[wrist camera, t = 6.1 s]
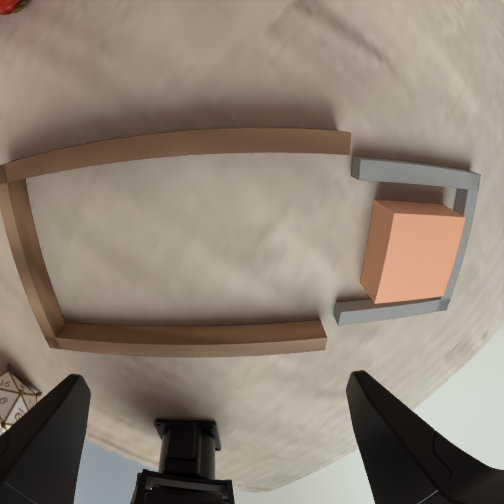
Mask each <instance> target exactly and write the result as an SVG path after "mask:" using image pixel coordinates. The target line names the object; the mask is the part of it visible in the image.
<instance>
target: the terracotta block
mask: <svg viewBox="0 0 504 504" xmlns="http://www.w3.org/2000/svg"><path fill="white" fill-rule="evenodd" d="M465 219H466V217H464V216H462V215H461V214H459V213H457V212H455V211H454V210H452V209H450V208H448V207H446V206H445V205H443V204H431V203H419V202H405V201H390V200H374V203H373V210H372V217H371V224H370V230H369V236H368V242H367V248H366V253H365V259H364V264H363V269H362V274H361V279H360V283H361V285H362V286H363V287H364V289H365V290H366V292H367V293H368V295H369V296H370V298H371V299H372V301H373V302H374V304H377V303H388V302H398V301H407V300H416V299H425V298H433V297H441V296H443V295H444V292H445V289H446V286H447V283H448V280H449V277H450V274H451V271H452V268H453V265H454V261H455V258H456V254H457V251H458V247H459V243H460V239H461V236H462V231H463V227H464V223H465Z"/></svg>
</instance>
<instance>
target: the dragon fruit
mask: <svg viewBox="0 0 504 504" xmlns="http://www.w3.org/2000/svg"><path fill="white" fill-rule="evenodd" d="M24 7H25V0H0V14H1V15H7V14H11V13H16V12H19V11H21V10H22V9H23V8H24Z"/></svg>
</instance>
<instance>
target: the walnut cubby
mask: <svg viewBox="0 0 504 504" xmlns="http://www.w3.org/2000/svg"><path fill="white" fill-rule="evenodd" d="M350 143H351V132H345V131H338V130H325V129H307V128H271V127H252V128H216V129H198V130H184V131H172V132H162V133H153V134H144V135H136V136H129V137H122V138H115V139H109V140H103V141H97V142H91V143H86V144H81V145H76V146H71V147H66V148H62V149H57V150H53V151H49V152H45V153H41V154H37V155H33V156H29V157H25V158H22V159H18V160H15V161H11V162H8V163H5V164H3V165H0V207H1V212H2V216H3V221H4V225H5V229H6V233H7V237H8V240H9V244H10V247H11V251H12V254H13V257H14V261H15V264H16V267H17V270H18V273H19V276H20V279H21V281H22V284H23V287H24V290H25V292H26V295H27V297H28V300H29V302H30V305H31V307H32V310H33V312H34V314H35V317H36V319H37V321H38V324H39V326H40V328H41V330H42V332H43V334H44V336H45V339H46V341H47V343H48V345H49V347H50V348H56V349H64V350H72V351H81V352H91V353H102V354H115V355H130V356H151V357H237V356H259V355H275V354H288V353H300V352H310V351H320V350H325V347H326V342H327V336H326V333H325V331H324V328H323V326H322V323H321V320H314V321H301V322H287V323H271V324H252V325H226V326H127V325H102V324H84V323H69V322H65V320H64V318H63V315H62V313H61V310H60V308H59V305H58V303H57V300H56V297H55V294H54V291H53V289H52V286H51V283H50V280H49V277H48V274H47V270H46V267H45V264H44V261H43V257H42V254H41V250H40V247H39V243H38V239H37V235H36V231H35V227H34V223H33V218H32V214H31V209H30V204H29V199H28V193H27V187H26V181H25V178H29V177H34V176H38V175H43V174H48V173H53V172H58V171H64V170H69V169H75V168H81V167H87V166H94V165H100V164H107V163H115V162H122V161H130V160H139V159H149V158H159V157H170V156H183V155H199V154H218V153H255V152H286V153H322V154H341V155H350Z"/></svg>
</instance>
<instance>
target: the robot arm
mask: <svg viewBox="0 0 504 504" xmlns="http://www.w3.org/2000/svg"><path fill="white" fill-rule="evenodd" d="M346 394H347V399H348V404H349V409H350V415H351V420H352V425H353V430H354V434H355V437H356V441H357V444H358V447H359V450H360V453H361V456H362V460H363V463H364V467H365V470H366V473H367V476H368V480H369V483H370V487H371V490H372V493H373V497H374V501H375V504H504V470H499V469H495V468H492V467H489V466H487V465H485V464H484V463H481V462H480V461H479V460H477V459H475V458H474V457H472V456H471V455H469V454H467V453H466V452H464V451H462V450H461V449H460V448H458V447H456V446H455V445H454V444H452V443H451V442H450V441H448V440H447V439H446V438H444V437H443V436H442V435H441V434H439V433H438V432H437V431H434V429H433V428H432V427H431V426H430V425H429V424H427V423H426V422H425V421H424V420H422V419H421V418H420V417H419V416H418V415H417V414H415V413H414V412H413V411H412V410H411V409H409V408H408V407H407V406H406V405H405V404H403V403H402V402H401V401H400V400H399V399H397V398H396V397H395V396H394V395H393V394H392V393H390V392H389V391H388V390H387V389H386V388H384V387H383V386H382V385H381V384H380V383H379V382H377V381H376V380H375V379H374V378H373V377H371V376H370V375H369V374H368V373H367V372H366V371H364V370H359V371H354V372H352V373H351V375H350V378H349V381H348V384H347V387H346ZM90 397H91V392H90V389H89V387H88V385H87V384H86V382H85V380H84V378H83V377H82V376H81V375H78V374H70V375H69V376H67V377H66V378H65V379H64V380H63V381H62V382H60V383H59V384H58V385H57V386H56V387H55V388H54V389H52V390H51V391H50V392H49V393H48V394H47V395H46V396H44V397H43V398H42V399H41V400H40V401H39V402H38V403H36V404H35V405H34V406H33V407H32V408H31V409H30V410H29V411H27V412H26V413H25V414H24V415H23V416H22V417H21V418H20V419H18V420H17V421H16V422H15V423H14V424H13V425H12V426H11V427H10V428H9V429H8V430H6V431H5V432H4V433H3V434H2V435H1V436H0V504H73V503H74V495H75V489H76V482H77V476H78V470H79V464H80V459H81V454H82V449H83V444H84V439H85V434H86V428H87V420H88V412H89V404H90ZM154 425H155V427H156V429H157V431H158V433H159V435H160V437H161V439H162V446H161V454H160V462H159V470H158V472H154V471H149V470H147V469H143V472H142V473H138V475H137V482H136V487H135V490H134V493H133V497H132V500H131V503H130V504H235V502H234V495H233V487H232V480H215V451H220V450H221V444H220V439H219V434H218V430H217V425H216V423H215V422H203V421H173V420H155V421H154ZM151 488H152V490H151Z"/></svg>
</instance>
